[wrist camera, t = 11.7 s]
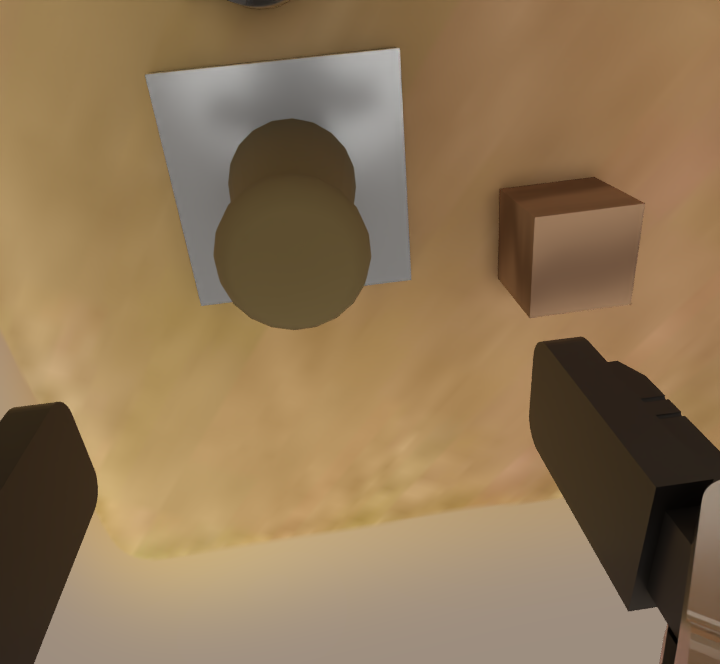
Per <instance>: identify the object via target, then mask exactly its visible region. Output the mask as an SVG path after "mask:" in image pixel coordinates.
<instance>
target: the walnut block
mask: <svg viewBox="0 0 720 664" xmlns="http://www.w3.org/2000/svg"><path fill="white" fill-rule="evenodd" d="M644 208H645V203H643V202H641V201H639V200H637V199H636V198H634V197H632V196H630V195H628V194H626V193H624V192H622V191H620V190H618V189H616V188H614V187H612V186H611V185H609V184H607V183H605V182H603V181H601V180H599V179H597V178H595V177H591V178H583V179H575V180H567V181H559V182H551V183H543V184H535V185H527V186H519V187H511V188H503V189H500V198H499V251H498V279H499V280H500V281H501V283H502V284H503V285H504V286H505V288H506V289H507V290H508V291H509V293H510V294H511V295H512V296H513V298H514V299H515V300H516V302H517V303H518V304H519V305H520V307H521V308H522V309H523V310H524V312H525V313H526V314H527V315H528V317H529V318H535V317H542V316H549V315H557V314H564V313H572V312H579V311H586V310H594V309H601V308H608V307H616V306H623V305H631V299H632V292H633V285H634V278H635V271H636V264H637V257H638V250H639V243H640V236H641V229H642V222H643V215H644Z"/></svg>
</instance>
